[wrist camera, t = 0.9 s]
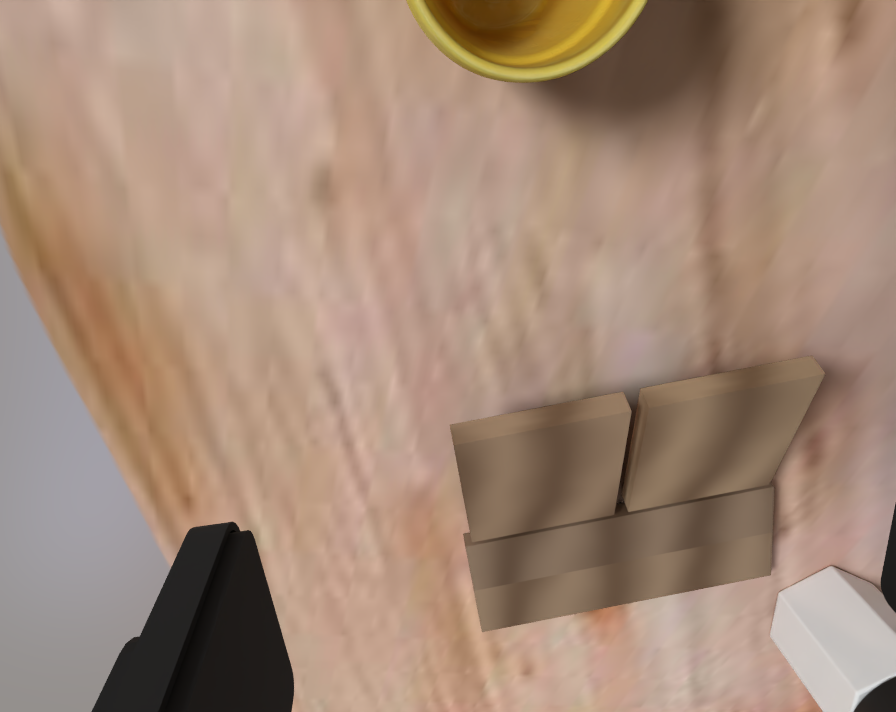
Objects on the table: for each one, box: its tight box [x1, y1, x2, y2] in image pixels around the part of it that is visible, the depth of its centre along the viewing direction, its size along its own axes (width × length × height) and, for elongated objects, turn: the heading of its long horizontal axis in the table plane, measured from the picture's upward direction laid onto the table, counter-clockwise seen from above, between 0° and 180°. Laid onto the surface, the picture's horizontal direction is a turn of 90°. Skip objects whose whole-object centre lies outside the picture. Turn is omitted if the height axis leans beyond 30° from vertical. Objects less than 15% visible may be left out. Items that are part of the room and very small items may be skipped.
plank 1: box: [450, 392, 632, 542], centre depth 40 cm, size 10×12×1 cm
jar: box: [770, 566, 896, 712], centre depth 46 cm, size 9×8×12 cm
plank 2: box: [622, 356, 825, 512], centre depth 40 cm, size 10×12×1 cm
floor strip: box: [463, 483, 774, 632], centre depth 47 cm, size 22×8×1 cm, turn 99°
